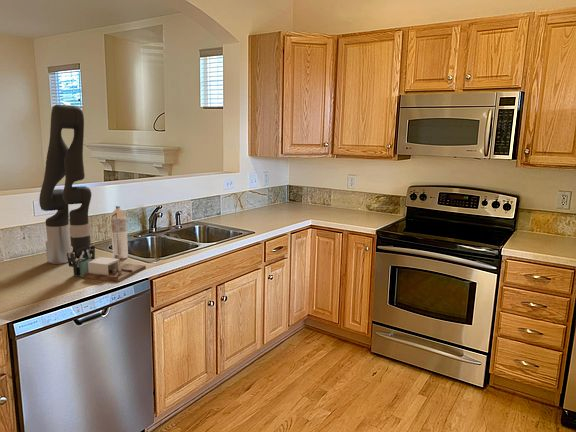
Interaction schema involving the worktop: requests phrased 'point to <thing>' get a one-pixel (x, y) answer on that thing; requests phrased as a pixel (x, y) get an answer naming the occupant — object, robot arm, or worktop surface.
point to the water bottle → (119, 233)
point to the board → (117, 272)
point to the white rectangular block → (103, 265)
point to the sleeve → (83, 266)
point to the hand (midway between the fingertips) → (83, 272)
